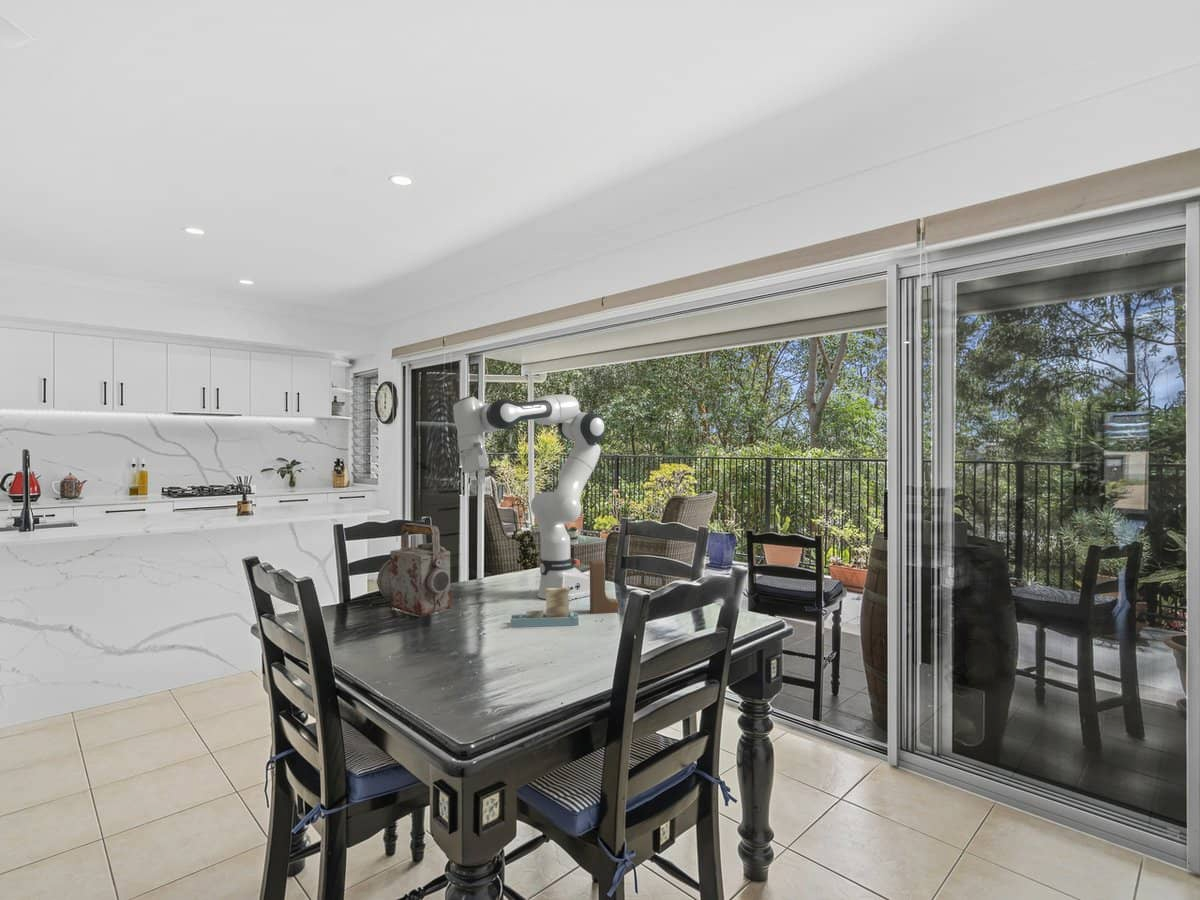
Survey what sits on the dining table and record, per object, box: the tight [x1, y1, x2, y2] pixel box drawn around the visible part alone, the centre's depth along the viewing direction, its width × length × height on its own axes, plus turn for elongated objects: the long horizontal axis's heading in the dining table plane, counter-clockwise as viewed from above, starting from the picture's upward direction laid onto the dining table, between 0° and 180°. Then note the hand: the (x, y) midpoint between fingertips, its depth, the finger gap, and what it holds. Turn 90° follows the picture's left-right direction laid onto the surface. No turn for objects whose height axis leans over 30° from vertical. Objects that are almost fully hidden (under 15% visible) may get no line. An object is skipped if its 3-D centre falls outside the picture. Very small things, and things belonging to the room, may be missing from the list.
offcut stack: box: [524, 610, 544, 618], centre depth 200 cm, size 6×2×4 cm, turn 94°
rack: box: [508, 611, 581, 630], centre depth 200 cm, size 22×9×4 cm, turn 94°
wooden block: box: [589, 559, 619, 615], centre depth 214 cm, size 9×4×18 cm, turn 101°
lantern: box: [376, 522, 452, 616], centre depth 222 cm, size 16×27×30 cm, turn 51°
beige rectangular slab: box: [545, 588, 570, 618], centre depth 200 cm, size 7×2×11 cm, turn 94°
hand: (478, 484), depth 217 cm, fingers open, 8 cm apart
